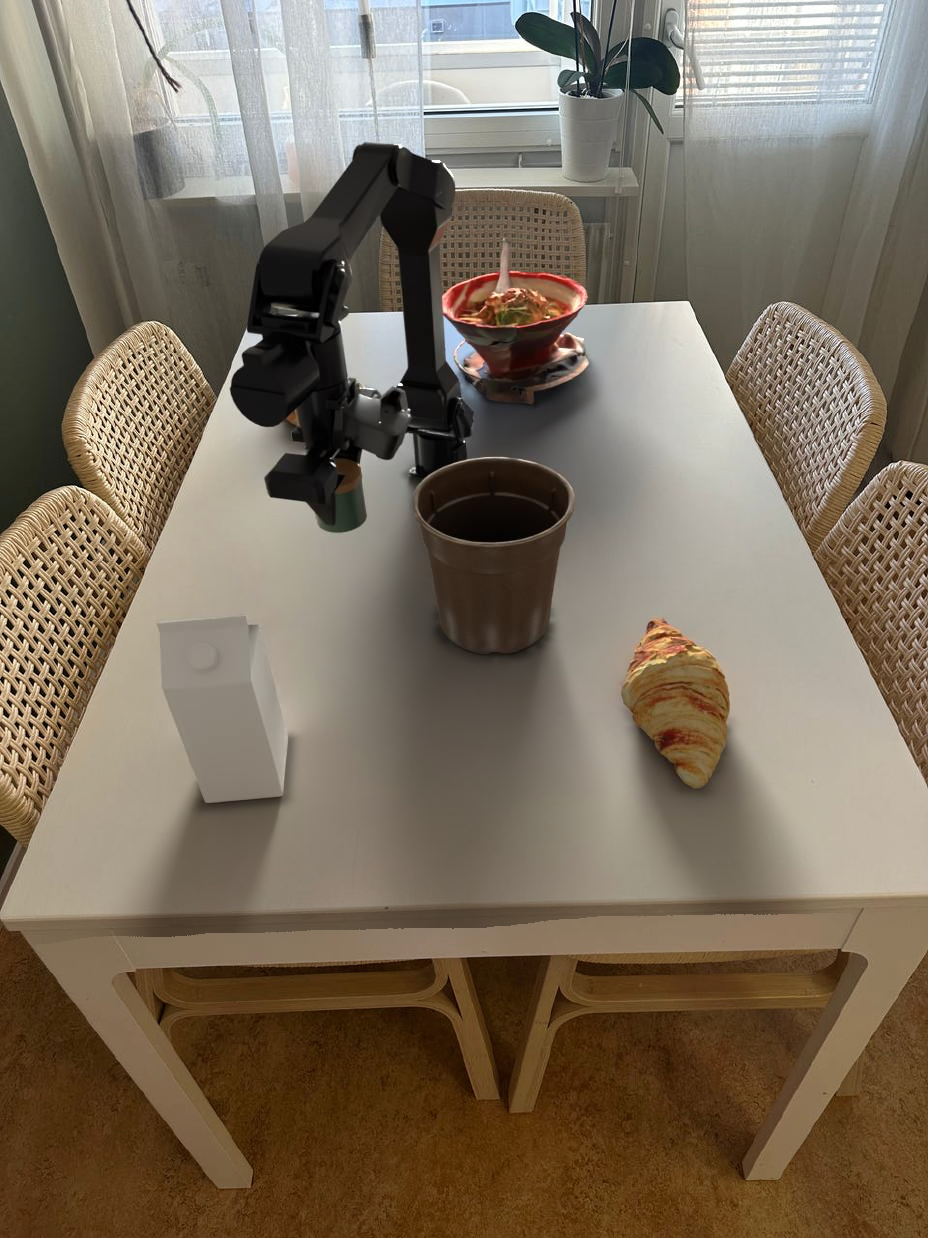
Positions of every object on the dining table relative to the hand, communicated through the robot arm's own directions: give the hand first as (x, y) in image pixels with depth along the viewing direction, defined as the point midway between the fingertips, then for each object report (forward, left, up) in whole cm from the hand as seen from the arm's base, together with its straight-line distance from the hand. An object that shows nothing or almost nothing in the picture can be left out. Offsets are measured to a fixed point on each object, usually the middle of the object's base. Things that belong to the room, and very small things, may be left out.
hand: (340, 509), depth 96 cm
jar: (0, 0, -1) cm, 1 cm away
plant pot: (+18, +3, -11) cm, 21 cm away
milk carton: (+8, -27, -11) cm, 30 cm away
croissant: (+40, -1, -11) cm, 41 cm away
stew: (-10, +61, -11) cm, 62 cm away
